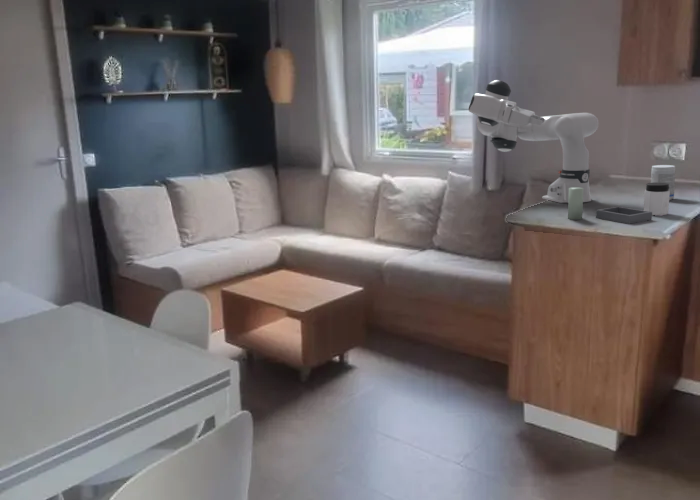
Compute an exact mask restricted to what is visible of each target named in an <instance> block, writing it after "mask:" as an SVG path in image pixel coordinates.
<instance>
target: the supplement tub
mask: <svg viewBox="0 0 700 500" xmlns="http://www.w3.org/2000/svg"><path fill="white" fill-rule="evenodd" d="M650 171H651V174H650V183H668V184H669V191H670V196H669V201H671V200H674V198H675V186H676V185H675V184H676V182H675V181H676V165H672V164H671V165H670V164H657V165H651V170H650Z"/></svg>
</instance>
